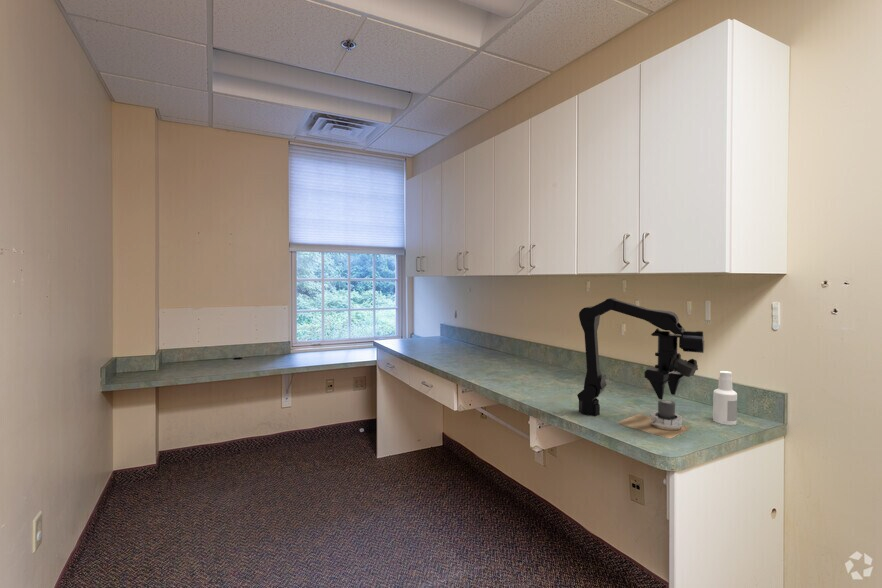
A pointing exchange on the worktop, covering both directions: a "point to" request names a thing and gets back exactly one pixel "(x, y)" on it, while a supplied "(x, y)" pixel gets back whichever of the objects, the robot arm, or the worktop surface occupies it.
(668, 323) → the robot arm
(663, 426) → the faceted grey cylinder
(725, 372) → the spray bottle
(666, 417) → the cap
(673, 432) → the board
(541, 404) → the worktop surface
